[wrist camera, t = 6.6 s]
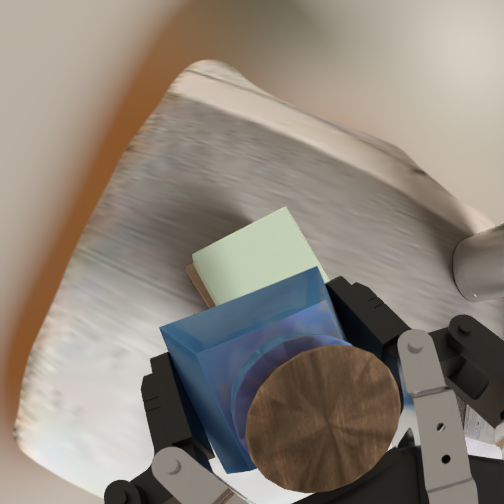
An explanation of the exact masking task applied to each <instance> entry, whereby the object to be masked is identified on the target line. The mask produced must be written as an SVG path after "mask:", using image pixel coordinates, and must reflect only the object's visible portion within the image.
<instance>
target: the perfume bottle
mask: <svg viewBox="0 0 504 504" xmlns="http://www.w3.org/2000/svg"><path fill="white" fill-rule="evenodd" d="M159 329H160V331H161V334H162V336H163V339H164V341H165V344H166V346H167V349H168V351H169V354H170V356H171V359H172V361H173V363H174V366H175V368H176V371H177V373H178V375H179V377H180V380H181V382H182V384H183V386H184V389H185V391H186V393H187V395H188V397H189V399H190V401H191V403H192V405H193V407H194V409H195V411H196V413H197V415H198V417H199V419H200V421H201V423H202V425H203V427H204V429H205V432H206V434H207V437H208V439H209V441H210V443H211V445H212V447H213V449H214V451H215V453H216V455H217V456H218V458H219V460H220V462H221V464H222V466H223V468H224V469H225V471H226V473H227V474H230V473H238V472H245V471H251V470H254V469H256V468H258V469H259V471H260V472H261V473H262V474H263V476H264V477H265V478H267V479H268V480H270V481H272V482H273V483H275V484H277V485H278V486H280V487H282V488H284V489H287V490H292V491H297V492H302V493H316V492H326V491H332V490H334V489H337V488H340V487H342V486H345V485H347V484H350V483H352V482H354V481H355V480H357V479H358V478H360V477H361V476H362V475H364V474H365V473H367V472H368V471H369V470H371V469H372V468H373V467H374V466H375V465H376V463H377V462H378V461H379V460H380V459H381V457H382V456H383V455H384V454H385V453H386V451H387V450H388V448H389V446H390V444H391V442H392V440H393V438H394V436H395V433H396V431H397V429H398V423H399V417H400V411H401V403H400V396H399V389H398V385H397V383H396V381H395V379H394V378H393V376H392V374H391V372H390V370H389V368H388V367H387V366H386V365H385V364H384V363H383V362H381V361H380V360H379V359H378V358H377V357H376V356H375V355H373V354H372V353H370V352H367V351H364V350H362V349H359V348H356V347H354V346H352V345H351V344H350V343H348V341H347V338H346V336H345V333H344V330H343V328H342V325H341V323H340V320H339V318H338V315H337V313H336V310H335V308H334V305H333V303H332V300H331V298H330V295H329V293H328V290H327V288H326V285H325V283H324V280H323V278H322V276H321V273H320V271H319V268H318V266H315V267H313V268H310V269H308V270H306V271H303V272H301V273H298V274H296V275H293V276H291V277H289V278H286V279H284V280H281V281H279V282H276V283H274V284H271V285H269V286H266V287H264V288H261V289H259V290H256V291H254V292H251V293H249V294H246V295H244V296H241V297H239V298H236V299H233V300H231V301H228V302H226V303H223V304H221V305H218V306H215V307H213V308H210V309H208V310H205V311H202V312H200V313H197V314H194V315H192V316H189V317H186V318H184V319H181V320H178V321H176V322H173V323H170V324H167V325H165V326H162V327H159Z"/></svg>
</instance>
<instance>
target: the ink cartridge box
mask: <svg viewBox="0 0 504 504" xmlns="http://www.w3.org/2000/svg"><path fill="white" fill-rule="evenodd" d="M464 436H465V437H468V438H471V439H475V440H479V441H482V442H486V443H489V444H494V445H495V442H494V440H495V429H494V428H493V427H492V426H491V425H489V424H488V423H487V422H486V421H485V420H484V419H483V418H482V417H481V416H480V415H479V414H477V413H476V412H475V411H474V410H473V409H472V408H471V407H470V406H469V405H468V404H467V406H466V415H465V423H464Z"/></svg>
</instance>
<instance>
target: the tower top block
mask: <svg viewBox="0 0 504 504" xmlns="http://www.w3.org/2000/svg"><path fill="white" fill-rule="evenodd" d="M192 258H193V263H194V267H195V269H196V271H197V273H198V274H199V276H200V278H201V280H202V282H203V284H204V285H205V287H206V289H207V291H208V293H209V294H210V296H211V298H212V300H213V302H214V303H215V305H216V306H218V305H221V304H223V303H226V302H228V301H231V300H233V299H236V298H239V297H241V296H244V295H246V294H249V293H251V292H254V291H256V290H259V289H261V288H264V287H266V286H269V285H271V284H274V283H276V282H279V281H281V280H284V279H286V278H289V277H291V276H293V275H296V274H298V273H301V272H303V271H306V270H308V269H310V268H313V267H315V266H318V268H319V271H320V273H321V276H322V278H323V280H324V283H327V282H329V281H330V280H329V279H328V277H327V275H326V273H325V272H324V270H323V268H322V266H321V265H320V263H319V261H318V260H317V258H316V256H315V254H314V253H313V251H312V249H311V248H310V246H309V244H308V243H307V241H306V239H305V237H304V236H303V234H302V232H301V231H300V229H299V227H298V226H297V224H296V223H295V221H294V219H293V218H292V216H291V214H290V213H289V211H288V209H287V208H286V206H285V207H283V208H281V209H279V210H277V211H275V212H273V213H271V214H269V215H267V216H265V217H263V218H261V219H259V220H257V221H255V222H253V223H251V224H249V225H248V226H246V227H244V228H242V229H240V230H238V231H236V232H234V233H232V234H230V235H228V236H226V237H224V238H222V239H220V240H218V241H217V242H215V243H213V244H211V245H209V246H207V247H205V248H203V249H201V250H199V251H197V252H195V253H194V254H192Z"/></svg>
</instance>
